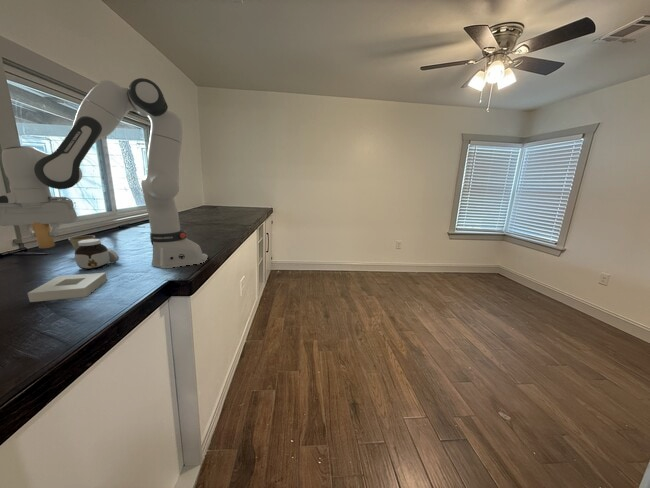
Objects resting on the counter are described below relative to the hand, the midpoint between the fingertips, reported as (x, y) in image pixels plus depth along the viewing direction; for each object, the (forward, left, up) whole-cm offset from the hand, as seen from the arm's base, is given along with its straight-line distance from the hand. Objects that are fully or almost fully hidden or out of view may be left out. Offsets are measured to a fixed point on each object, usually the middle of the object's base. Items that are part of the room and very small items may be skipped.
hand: (44, 236), depth 91 cm
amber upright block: (0, 0, -4) cm, 4 cm away
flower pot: (+6, -34, -17) cm, 38 cm away
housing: (-11, +12, -16) cm, 23 cm away
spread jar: (-8, -14, -17) cm, 23 cm away
